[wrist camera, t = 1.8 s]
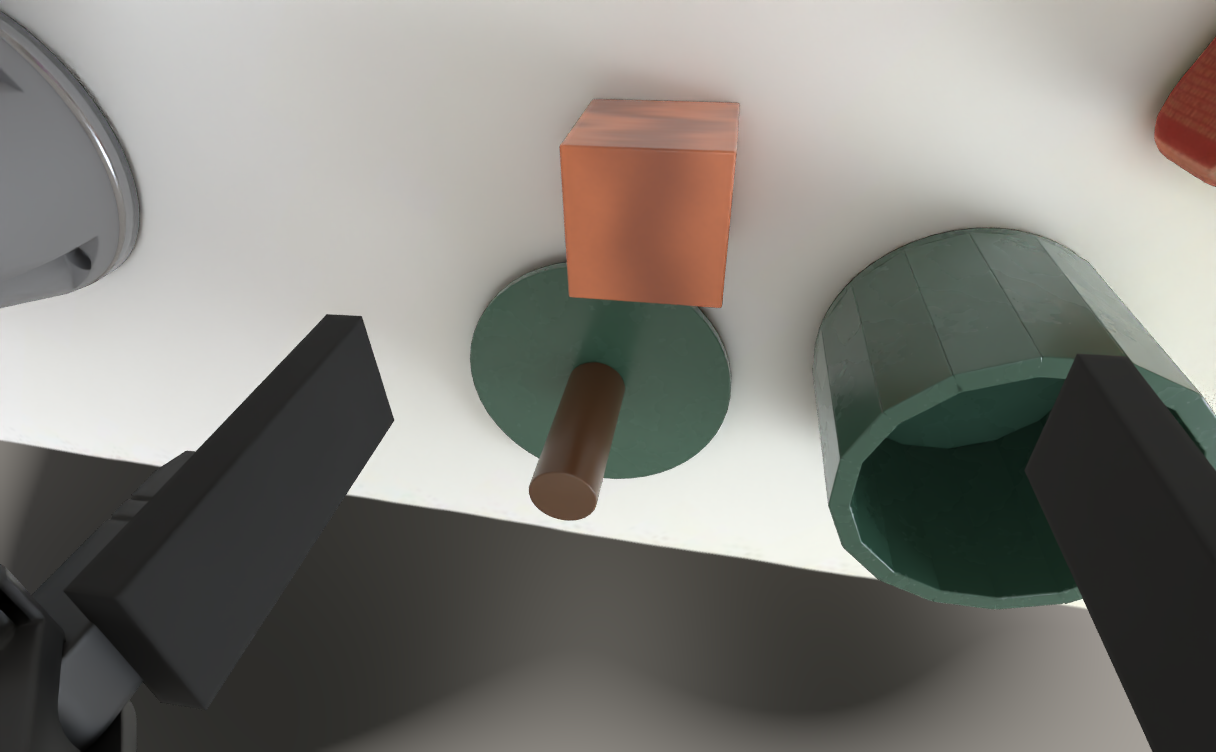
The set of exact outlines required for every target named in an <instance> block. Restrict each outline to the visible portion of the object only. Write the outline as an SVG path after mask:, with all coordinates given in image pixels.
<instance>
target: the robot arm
mask: <svg viewBox="0 0 1216 752" xmlns="http://www.w3.org/2000/svg"><path fill="white" fill-rule="evenodd" d="M139 220H140V218H139V202H138V195H137V191H136V186H135V182H134V179H133V176H132V173H131V170H130V167H129V164H128V162H127V159H126V157H125V154H124V152H123V150H122V148H121V146H120V144H119V142H118V140H117V138H116V136H115V134H114V132H113V131H112V129H111V127H110V125H109V124H108V122H107V120H106V119H105V117H104V116H103V114H102V113H101V111H100V110H99V108H98V107H97V105H96V104H95V102H94V101H93V100H92V98H91V97H90V96H89V94H88V93H87V92H86V90H85V89H84V88H83V87H82V85H81V84H80V83H79V82H78V81H77V80H76V78H75V77H74V76H73V75H72V74H71V72H70V71H69V70H68V69H67V68H66V67H65V66H64V65H63V64H62V63H61V62H60V61H59V60H58V59H57V57H55V56H54V55H53V54H52V53H51V52H50V51H49V50H48V49H47V48H46V47H45V46H44V45H43V44H42V43H41V42H40V41H38V40H37V39H36V38H35V37H34V36H33V35H31V34H30V33H29V32H28V31H27V30H26V29H24V28H23V27H22V26H20V25H19V24H18V23H16V22H15V21H14V20H12V19H11V18H10V17H8V16H7V15H6V14H4V13H3V12H1V11H0V308H3V307H8V306H12V305H17V304H22V303H26V302H31V301H35V300H40V299H45V298H49V297H54V296H58V295H63V294H67V293H70V292H73V291H75V290H78V289H80V288H83V287H85V286H88V285H90V284H92V283H94V282H96V281H97V280H99V279H101V278H102V277H104V276H106V275H107V274H109V273H110V272H112V271H114V270H115V269H116V268H118V267H119V266H120V265H121V264H122V263H123V262H124V261H125V260H126V259H127V258H128V256H129V255H130V253H131V251H132V250H133V247H134V245H135V242H136V239H137V235H138V231H139ZM393 421H394V418H393V415H392V412H391V408H390V405H389V402H388V399H387V396H386V392H385V389H384V386H383V383H382V380H381V376H380V373H379V370H378V367H377V364H376V360H375V357H374V354H373V351H372V348H371V344H370V341H369V338H368V335H367V332H366V328H365V325H364V322H363V319H362V316H349V315H329V314H327V315H326V316H325V317H324V318H323V319H322V320H321V321H320V322H319V323H318V324H317V325H316V326H315V327H314V328H313V329H312V330H311V332H310V333H309V334H308V335H307V336H306V337H305V338H304V339H303V340H302V341H301V342H300V343H299V344H298V345H297V346H296V347H295V348H294V349H293V350H292V351H291V352H290V354H289V355H288V356H287V357H286V358H285V359H284V360H283V361H282V362H281V363H280V364H279V365H278V366H277V367H276V368H275V369H274V370H273V371H272V372H271V373H270V374H269V375H268V377H267V378H266V379H265V380H264V381H263V382H262V383H261V384H260V385H259V386H258V387H257V388H256V389H255V390H254V391H253V392H252V393H251V394H250V395H249V396H248V397H247V399H246V400H245V401H244V402H243V403H242V404H241V405H240V406H239V407H238V408H237V409H236V410H235V411H234V412H233V413H232V414H231V415H230V416H229V417H228V418H227V419H226V420H225V422H224V423H223V424H222V425H221V426H220V427H219V428H218V429H217V430H216V431H215V432H214V433H213V434H212V435H211V436H210V437H209V438H208V439H207V440H206V441H205V442H204V444H203V445H202V446H201V447H200V448H199V449H198V450H197V451H196V452H195V451H185V452H184V453H182V454H180V455H179V456H177V457H176V458H174V459H173V460H171V461H169V462H168V463H166V464H165V465H163V466H162V467H160V468H159V469H157V470H155V471H154V472H153V473H152V474H151V475H150V476H149V477H148V478H147V479H146V480H145V481H144V483H142V484H141V485H140V486H139V487H138V488H137V489H136V491H134V492H133V494H131V496H132V497H131V499H130V500H126V501H125V502H124V503H123V504H122V505H121V506H120V507H119V508H118V509H117V510H116V511H115V512H114V513H113V514H112V518H111V519H110V520H106V521H105V522H104V523H103V524H102V525H101V526H100V527H99V528H98V529H97V530H96V531H95V532H94V533H93V534H92V535H91V536H90V537H89V538H88V539H87V540H86V541H85V542H84V543H83V544H82V545H81V546H80V547H79V548H78V549H77V550H76V551H75V552H74V553H73V554H72V555H71V556H70V557H69V558H68V559H67V560H66V561H65V562H64V563H63V564H62V565H61V566H60V567H59V568H58V569H57V570H56V571H55V572H54V573H53V574H52V575H51V576H50V577H49V578H48V579H47V580H46V581H45V582H44V583H43V584H42V585H41V586H40V587H39V588H38V589H37V590H36V591H35V592H34V593H33V594H32V595H31V594H30V593H29V592H28V591H27V590H26V589H25V588H24V587H23V586H22V585H21V584H20V582H19V581H18V580H17V579H16V578H15V577H14V576H13V575H12V574H11V573H10V572H9V571H8V569H7V568H6V567H4V566H3V565H1V564H0V752H137V727H136V713H135V710H134V707H133V704H132V703H131V702H130V701H129V699H130V698H131V697H132V695H133V694H134V693H135V691H136V690H137V689H138V687H139V686H140V684H141V683H142V682H143V683H144V684H145V685H146V686H147V687H148V688H149V690H150V691H151V692H152V693H153V694H154V695H155V697H156V698H157V699H158V700H159V701H160V702H161V703H166V704H172V705H178V706H184V707H190V708H196V709H203V710H207V708H208V707H209V705H210V703H211V702H212V700H213V699H214V697H215V696H216V694H217V693H218V691H219V690H220V688H221V687H222V685H223V683H224V682H225V680H226V679H227V677H228V676H229V674H230V673H231V671H232V670H233V668H234V667H235V665H236V663H237V662H238V660H239V659H240V657H241V656H242V654H243V652H244V651H245V650H246V648H247V646H248V645H249V643H250V642H251V640H252V639H253V637H254V635H255V634H256V632H257V631H258V630H259V628H260V626H261V625H262V623H263V622H264V620H265V619H266V617H267V616H268V614H269V613H270V611H271V609H272V608H273V606H274V605H275V603H276V602H277V600H278V599H279V597H280V596H281V594H282V593H283V591H284V589H285V588H286V586H287V585H288V583H289V582H290V580H291V579H292V577H293V576H294V574H295V573H296V571H297V569H298V568H299V566H300V565H301V563H302V562H303V560H304V559H305V557H306V556H307V554H308V552H309V551H310V549H311V548H312V546H313V545H314V543H315V542H316V540H317V539H318V537H319V536H320V534H321V532H322V531H323V529H324V528H325V526H326V525H327V523H328V522H329V520H330V518H331V517H332V515H333V514H334V512H335V511H336V509H337V508H338V506H339V505H340V503H341V501H342V500H343V498H344V497H345V495H346V494H347V492H348V491H349V489H350V488H351V486H352V485H353V483H354V482H355V480H356V479H357V477H358V475H359V474H360V472H361V471H362V469H363V468H364V466H365V465H366V463H367V462H368V460H369V458H370V457H371V455H372V454H373V452H374V451H375V449H376V448H377V446H378V445H379V443H380V442H381V440H382V438H383V437H384V435H385V434H386V432H387V431H388V429H389V428H390V426H391V425H392V423H393ZM1024 471H1025V473H1026V475H1027V477H1028V479H1029V482H1030V484H1031V486H1032V488H1033V490H1034V493H1035V495H1036V497H1037V499H1038V501H1039V503H1040V506H1041V508H1042V510H1043V512H1044V514H1045V517H1046V519H1047V521H1048V523H1049V525H1050V528H1051V530H1052V532H1053V534H1054V536H1055V539H1056V541H1057V543H1058V545H1059V547H1060V550H1061V552H1062V554H1063V556H1064V558H1065V561H1066V563H1067V565H1068V567H1069V569H1070V572H1071V574H1072V576H1073V578H1074V580H1075V583H1076V585H1077V587H1078V589H1079V591H1080V593H1081V596H1082V598H1083V600H1084V602H1085V604H1086V607H1087V609H1088V611H1089V613H1090V615H1091V618H1092V620H1093V622H1094V624H1095V626H1096V629H1097V631H1098V633H1099V635H1100V637H1101V639H1102V641H1103V644H1104V646H1105V648H1106V650H1107V653H1108V655H1109V657H1110V659H1111V662H1112V664H1113V666H1114V668H1115V670H1116V673H1117V675H1118V677H1119V679H1120V681H1121V683H1122V686H1123V688H1124V690H1125V692H1126V694H1127V697H1128V699H1129V701H1130V703H1131V705H1132V708H1133V710H1134V712H1135V714H1136V716H1137V719H1138V721H1139V723H1140V725H1141V727H1142V729H1143V732H1144V734H1145V736H1146V738H1147V741H1148V743H1149V745H1150V747H1151V749H1152V752H1216V470H1215V469H1214V468H1213V466H1212V465H1211V464H1210V463H1209V461H1208V460H1207V459H1206V457H1205V456H1204V455H1203V454H1202V452H1201V451H1200V450H1199V448H1198V447H1197V446H1196V445H1195V443H1194V442H1193V441H1192V439H1191V438H1190V437H1189V435H1188V434H1187V433H1186V432H1185V430H1184V429H1183V428H1182V426H1181V425H1180V424H1179V423H1178V421H1177V420H1176V419H1175V417H1174V416H1173V415H1172V414H1171V412H1170V411H1169V410H1168V408H1167V407H1166V406H1165V404H1164V403H1163V402H1162V401H1161V399H1160V398H1159V397H1158V395H1157V394H1156V393H1155V392H1154V390H1153V389H1152V388H1151V386H1150V385H1149V384H1148V383H1147V381H1146V380H1145V379H1144V377H1143V376H1142V375H1141V373H1140V372H1139V371H1138V370H1137V368H1136V367H1135V366H1134V364H1133V363H1132V362H1131V361H1130V359H1129V358H1128V357H1127V356H1112V355H1093V354H1077V355H1076V357H1075V359H1074V362H1073V364H1072V366H1071V368H1070V370H1069V373H1068V375H1067V377H1066V379H1065V381H1064V384H1063V386H1062V388H1061V390H1060V393H1059V395H1058V397H1057V399H1056V401H1055V404H1054V406H1053V408H1052V410H1051V412H1050V415H1049V417H1048V419H1047V421H1046V424H1045V426H1044V428H1043V430H1042V432H1041V435H1040V437H1039V439H1038V441H1037V443H1036V446H1035V448H1034V450H1033V452H1032V454H1031V457H1030V459H1029V461H1028V463H1027V466H1026V468H1025V470H1024Z"/></svg>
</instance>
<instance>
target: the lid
mask: <svg viewBox="0 0 1216 752" xmlns="http://www.w3.org/2000/svg"><path fill="white" fill-rule="evenodd" d="M470 362H471V372H472V377H473V381H474V385H475V388H476V390H477V393H478V395H479V398H480V400H481V402H482V403H483V405H484V407H485V409H486V411H487V412H488V414H489V415H490V416H491V418H492V419H493V420H494V422H495V423H496V424H497V425H498V426H499V427H500V428H501V430H502V431H503V432H504V433H505V434H506V435H507V436H508V437H510V438H511V439H512V440H513V441H514V442H515V443H516V444H518V445H519V446H521V447H522V448H523V449H525V450H526V451H528V452H529V453H531V454H532V455H534V456H536V457H538V458H539V461H538V464H537V466H536V469H535V472H534V475H533V477H532V480H531V483H530V486H529V495H530V498H531V500H532V502H533V503H534V505H535V506H536V507H537V508H538V509H539V510H541V511H542V512H543V513H545V514H547V515H549V516H551V517H554V518H557V519H561V520H579V519H582V518H585V517H587V516H588V515H590V514H591V513H592V512H593V511H594V509H595V507H596V504H597V500H598V496H599V492H600V488H601V484H602V480H603V478H611V479H625V478H637V477H645V476H649V475H653V474H657V473H661V472H664V471H666V470H669V469H672V468H674V467H676V466H678V465H680V464H682V463H684V462H686V461H687V460H689V459H690V458H692V457H693V456H695V455H696V454H697V453H699V452H700V451H701V450H702V449H703V448H704V447H705V446H706V445H707V444H708V443H709V442H710V441H711V439H712V438H713V437H714V436H715V435H716V433H717V431H718V430H719V428H720V426H721V425H722V423H723V420H724V418H725V415H726V413H727V410H728V405H729V400H730V392H731V373H730V366H729V361H728V357H727V354H726V351H725V347H724V345H723V343H722V341H721V339H720V337H719V335H718V333H717V331H716V330H715V328H714V327H713V325H712V324H711V322H710V321H709V319H708V318H707V317H706V316H705V315H704V314H703V313H702V312H701V310H700V309H699V308H698V307H697V306H686V305H672V304H658V303H645V302H631V301H617V300H603V299H589V298H575V297H569V291H568V275H567V262H566V263H558V264H554V265H550V266H546V267H542V268H539V269H537V270H534V271H532V272H529V273H527V274H525V275H523V276H521V277H519V278H518V279H516V280H514V281H513V282H511V283H510V284H509V285H507V286H506V287H505V288H504V289H502V290H501V291H500V292H499V293H498V294H497V295H496V296H495V298H494V299H493V300H492V301H491V302H490V303H489V305H488V306H487V308H486V310H485V311H484V313H483V314H482V316H481V318H480V319H479V321H478V324H477V326H476V329H475V331H474V334H473V339H472V343H471V354H470Z"/></svg>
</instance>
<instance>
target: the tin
mask: <svg viewBox="0 0 1216 752" xmlns="http://www.w3.org/2000/svg"><path fill="white" fill-rule="evenodd" d="M1077 354H1093V355H1112V356H1127V357H1128V358H1129V359H1130V361H1131V362H1132V363H1133V364H1134V366H1135V367H1136V368H1137V370H1138V371H1139V372H1140V373H1141V375H1142V376H1143V377H1144V379H1145V380H1146V381H1147V383H1148V384H1149V385H1150V386H1151V388H1152V389H1153V390H1154V392H1155V393H1156V394H1157V395H1158V397H1159V398H1160V399H1161V401H1162V402H1163V403H1164V404H1165V406H1166V407H1167V408H1168V410H1169V411H1170V412H1171V414H1172V415H1173V416H1174V417H1175V419H1176V420H1177V421H1178V423H1179V424H1180V425H1181V426H1182V428H1183V429H1184V430H1185V432H1186V433H1187V434H1188V435H1189V437H1190V438H1191V439H1192V441H1193V442H1194V443H1195V445H1196V446H1197V447H1198V448H1199V450H1200V451H1201V452H1202V454H1203V455H1204V456H1205V457H1206V459H1207V460H1208V461H1209V463H1210V464H1211V465H1212V466H1213V468H1214V469H1215V470H1216V415H1215V413H1214V412H1213V410H1212V409H1211V407H1210V406H1209V404H1208V403H1207V401H1206V400H1205V399H1204V397H1203V396H1202V394H1201V393H1200V392H1199V391H1198V390H1197V389H1196V387H1195V386H1194V385H1193V384H1192V383H1191V382H1190V380H1189V379H1188V378H1187V377H1186V376H1185V375H1184V373H1183V372H1182V371H1181V370H1180V369H1179V368H1178V366H1177V365H1176V364H1175V363H1174V362H1173V361H1172V359H1171V358H1170V357H1169V356H1168V355H1167V354H1166V352H1165V351H1164V350H1163V349H1162V348H1161V347H1160V345H1159V344H1158V343H1157V342H1156V341H1155V340H1154V338H1153V337H1152V336H1151V335H1150V334H1149V332H1148V331H1147V330H1146V329H1145V328H1144V327H1143V325H1142V324H1141V323H1140V322H1139V321H1138V320H1137V318H1136V317H1135V316H1134V315H1133V314H1132V313H1131V311H1130V310H1129V309H1128V308H1127V307H1126V306H1125V304H1124V303H1123V302H1122V301H1121V300H1120V299H1119V297H1118V296H1117V295H1116V294H1115V293H1114V292H1113V290H1112V289H1111V288H1110V287H1109V286H1108V285H1107V283H1106V282H1105V281H1104V280H1103V279H1102V278H1101V276H1100V275H1099V274H1098V273H1097V272H1096V270H1095V269H1094V268H1093V267H1092V266H1091V265H1090V263H1089V262H1087V261H1086V260H1085V259H1083V258H1081V257H1078V256H1077V255H1076V254H1075V253H1074V252H1072V251H1071V250H1069V249H1067V248H1065V247H1064V246H1062V245H1060V244H1058V243H1057V242H1054V241H1052V240H1049V239H1047V238H1044V237H1042V236H1039V235H1035V234H1031V233H1027V232H1023V231H1019V230H1010V229H1001V228H973V229H964V230H956V231H950V232H946V233H941V234H937V235H933V236H930V237H927V238H924V239H921V240H918V241H915V242H912V243H910V244H907V245H905V246H903V247H901V248H899V249H897V250H894V251H892V252H891V253H889V254H887V255H886V256H884V257H882V258H880V259H879V260H877V261H875V262H874V263H873V264H871V265H870V266H869V267H867V268H866V269H865V270H863V271H862V272H861V273H860V274H858V275H857V276H856V277H855V278H854V279H853V280H852V281H851V282H850V283H849V284H848V285H847V286H846V287H845V288H844V289H843V291H842V292H841V293H840V294H839V295H838V297H837V298H836V299H835V300H834V302H833V304H832V305H831V307H830V308H829V310H828V311H827V313H826V315H825V317H824V319H823V322H822V324H821V326H820V328H819V332H818V335H817V339H816V343H815V352H814V364H813V379H814V387H815V396H816V404H817V413H818V421H819V430H820V439H821V447H822V456H823V464H824V473H825V482H826V490H827V499H828V506H829V509H830V512H831V515H832V518H833V521H834V524H835V527H836V530H837V533H838V536H839V539H840V541H841V544H842V546H843V548H844V549H845V550H846V551H847V552H848V553H850V554H851V555H852V556H853V557H854V558H855V559H856V560H857V561H858V562H859V563H861V564H862V565H863V566H864V567H865V568H866V569H867V570H868V571H869V572H870V573H871V574H873V575H874V576H875V577H876V578H877V579H878V580H880V581H883V582H885V583H887V584H890V585H892V586H895V587H897V588H900V589H902V590H905V591H907V592H909V593H912V594H914V595H917V596H919V597H922V598H924V599H927V600H929V601H933V602H940V603H947V604H956V605H963V606H971V607H978V608H986V609H1009V608H1020V607H1032V606H1044V605H1055V604H1063V603H1065V604H1067V603H1070V602H1074V601H1077V600H1080V599H1083V598H1082V596H1081V593H1080V591H1079V589H1078V587H1077V585H1076V583H1075V580H1074V578H1073V576H1072V574H1071V572H1070V569H1069V567H1068V565H1067V563H1066V561H1065V558H1064V556H1063V554H1062V552H1061V550H1060V547H1059V545H1058V543H1057V541H1056V539H1055V536H1054V534H1053V532H1052V530H1051V528H1050V525H1049V523H1048V521H1047V519H1046V517H1045V514H1044V512H1043V510H1042V508H1041V506H1040V503H1039V501H1038V499H1037V497H1036V495H1035V493H1034V490H1033V488H1032V486H1031V484H1030V482H1029V479H1028V477H1027V475H1026V473H1025V471H1024V470H1025V468H1026V466H1027V463H1028V461H1029V459H1030V457H1031V454H1032V452H1033V450H1034V448H1035V446H1036V443H1037V441H1038V439H1039V437H1040V435H1041V432H1042V430H1043V428H1044V426H1045V424H1046V421H1047V419H1048V417H1049V415H1050V412H1051V410H1052V408H1053V406H1054V404H1055V401H1056V399H1057V397H1058V395H1059V393H1060V390H1061V388H1062V386H1063V384H1064V381H1065V379H1066V377H1067V375H1068V373H1069V370H1070V368H1071V366H1072V364H1073V362H1074V359H1075V357H1076V355H1077Z"/></svg>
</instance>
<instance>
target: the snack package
mask: <svg viewBox="0 0 1216 752" xmlns="http://www.w3.org/2000/svg"><path fill="white" fill-rule="evenodd" d="M1154 139H1155V142H1156V145H1157V147H1158V149H1159V151H1160V152H1161V153H1162V154H1163V155H1164V156H1165V157H1166V158H1167V159H1169V160H1170V161H1172V162H1174V163H1175V164H1177V165H1178V166H1180V167H1181V168H1183V169H1184V170H1186V171H1187V172H1189V173H1190V174H1192V175H1193V176H1195V177H1197V178H1199V179H1200V180H1202V181H1204V182H1205V183H1207V184H1209V185H1212V186H1215V187H1216V37H1215V38H1214V39H1213V41H1212V42H1211V43H1210V44H1209V46H1208V47H1207V48H1206V49H1205V50H1204V51H1203V52H1202V54H1201V55H1200V56H1199V57H1198V59H1197V60H1196V61H1195V63H1194V64H1193V65H1192V66H1191V67H1190V69H1189V70H1188V71H1187V72H1186V73H1185V75H1184V76H1183V77H1182V78H1181V79H1180V81H1179V82H1178V83H1177V85H1176V86H1175V87H1174V89H1173V90H1172V92H1171V93H1170V95H1169V96H1168V98H1167V100H1166V101H1165V103H1164V105H1163V107H1162V108H1161V110H1160V112H1159V114H1158V116H1157V119H1156V125H1155V132H1154Z"/></svg>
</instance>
